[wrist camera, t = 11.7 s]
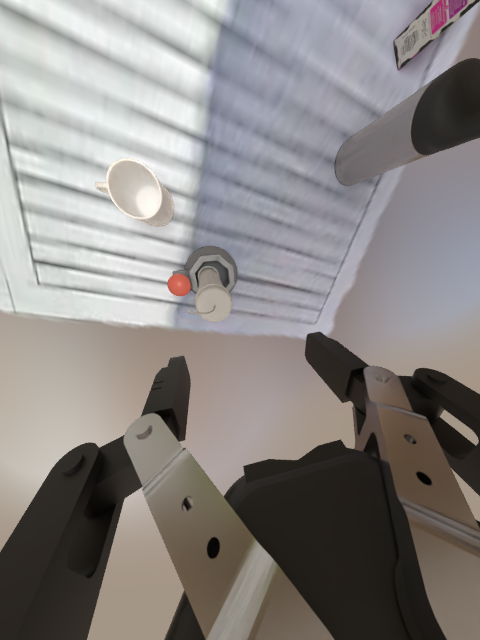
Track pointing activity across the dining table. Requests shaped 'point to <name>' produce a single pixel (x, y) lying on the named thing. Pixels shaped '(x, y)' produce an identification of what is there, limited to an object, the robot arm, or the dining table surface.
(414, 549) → the robot arm
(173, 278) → the valve socket
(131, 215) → the mug
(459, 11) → the candy bar box
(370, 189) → the dining table surface
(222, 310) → the pipe
